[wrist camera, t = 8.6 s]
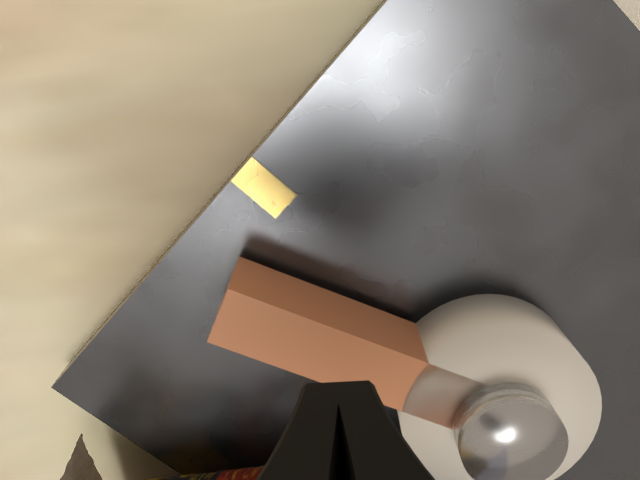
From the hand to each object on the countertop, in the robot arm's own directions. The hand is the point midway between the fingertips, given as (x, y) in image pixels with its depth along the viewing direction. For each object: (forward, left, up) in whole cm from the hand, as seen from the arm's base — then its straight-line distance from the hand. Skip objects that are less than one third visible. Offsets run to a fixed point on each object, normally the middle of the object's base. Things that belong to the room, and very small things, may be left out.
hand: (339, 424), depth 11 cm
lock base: (-6, -1, -10) cm, 11 cm away
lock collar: (-3, 0, -8) cm, 8 cm away
